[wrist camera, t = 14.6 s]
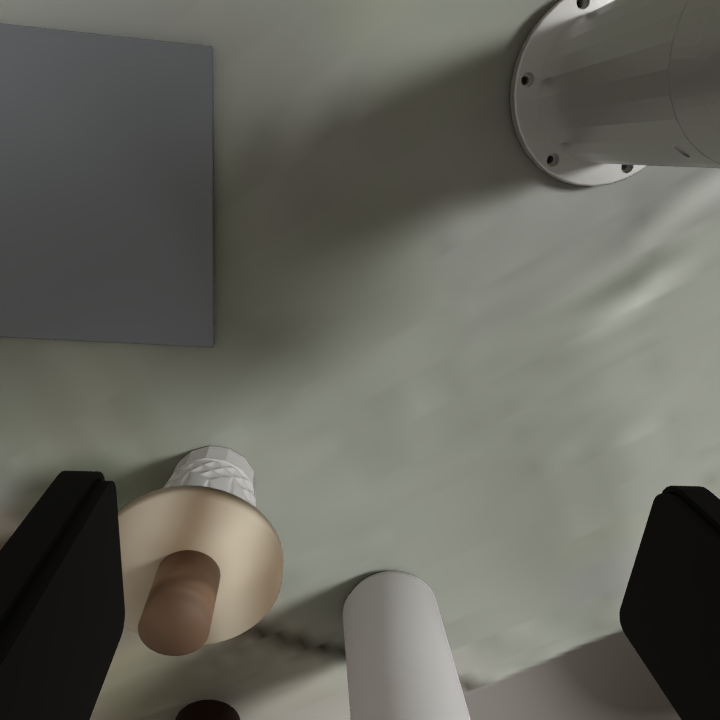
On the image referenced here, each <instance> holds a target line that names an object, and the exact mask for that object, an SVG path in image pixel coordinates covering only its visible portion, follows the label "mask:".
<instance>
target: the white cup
mask: <svg viewBox="0 0 720 720" xmlns="http://www.w3.org/2000/svg"><path fill="white" fill-rule="evenodd" d="M182 485H195V486H205V487H211V488H216V489H219V490H223V491H226V492H228V493H231V494H233V495H236V496H238V497H240V498H242V499H243V500H245V501H247V502H248V503H250V504H251V505H253V506H254V507H255V504H256V500H255V488H256V487H255V477H254V471H253V469H252V468H251V466H250V465H249V464H248V462H247V461H246V459H245V458H244V457H243V456H241V455H239V454H238V453H236V452H234V451H232V450H231V449H229V448H222V447H215V446H208V447H204V448H200V449H196V450H193V451H191V452H190V453H189V454H187V455H186V456H185V457H184V458H183V459H181V460H180V461H179V462H178V464H177V466H176V468H175V470H174V472H173V474H172V476H171V477H170V479H169V480H168V481H167V483H166V484H165V486H164V488H166V487H172V486H182Z"/></svg>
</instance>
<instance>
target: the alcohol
mask: <svg viewBox="0 0 720 720" xmlns="http://www.w3.org/2000/svg"><path fill="white" fill-rule="evenodd" d="M343 627H344V640H345V652H346V665H347V678H348V690H349V703H350V716H351V720H471V719H470V716H469V713H468V709H467V705H466V702H465V699H464V695H463V692H462V688H461V685H460V681H459V678H458V674H457V671H456V668H455V664H454V661H453V657H452V654H451V650H450V647H449V643H448V640H447V636H446V633H445V630H444V626H443V623H442V619H441V616H440V612H439V609H438V605H437V602H436V599H435V596H434V594H433V592H432V590H431V589H430V588H429V586H428V585H427V584H425V583H424V582H423V581H422V580H420V579H418V578H416V577H415V576H413V575H411V574H408V573H405V572H401V571H384V572H380V573H376V574H374V575H371V576H369V577H367V578H366V579H364V580H362V581H361V582H360V583H359V584H358V585H357V586H356V587H355V588H354V589H353V591H352V592H351V593H350V594H349V596H348V598H347V599H346V601H345V604H344V608H343Z"/></svg>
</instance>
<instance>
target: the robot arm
mask: <svg viewBox="0 0 720 720" xmlns="http://www.w3.org/2000/svg"><path fill="white" fill-rule="evenodd" d="M577 1H579V2H580V7H579V8H578V6H577ZM522 77H524V78H525V79H526V84H525V85H523V84H522V82H521V79H522ZM510 107H511V114H512V121H513V125H514V128H515V131H516V134H517V137H518V140H519V142H520V144H521V145H522V147H523V149H524V151H525V152H526V154H527V155H528V157H529V158H530V159H531V160H532V161H533V162H534V163H535V165H536V166H537V167H538V168H540V169H541V170H543V171H544V172H545V173H547V174H548V175H549V176H551V177H553V178H556V179H558V180H560V181H562V182H565V183H570V184H575V185H580V186H601V185H609V184H612V183H616V182H619V181H622V180H625V179H627V178H629V177H631V176H633V175H634V174H636V173H638V172H640V171H642V170H643V169H644V168H646V167H647V166H648V165H649V166H674V167H699V168H720V0H559V1H558V2H557V3H556V4H555V5H554V6H552V7H551V8H550V9H549V10H548V11H547V12H545V14H544V15H543V16H542V17H541V18H540V20H539V21H538V22H537V23H536V24H535V26H534V27H533V28H532V30H531V32H530V33H529V35H528V37H527V38H526V40H525V42H524V44H523V45H522V48H521V50H520V53H519V56H518V58H517V61H516V64H515V67H514V72H513V77H512V82H511V95H510ZM548 156H550V157H551V161H550V162H549V163H547V158H548ZM622 164H623V165H624V167H623V169H622V170H621V166H622ZM124 621H125V603H124V589H123V576H122V562H121V549H120V535H119V522H118V508H117V494H116V486H115V483H114V482H113V481H105V479H104V476H103V474H102V473H101V472H93V471H62V472H61V473H60V474H59V475H58V476H57V477H56V479H55V480H54V481H53V483H52V484H51V485H50V486H49V488H48V489H47V490H46V492H45V493H44V494H43V496H42V497H41V498H40V499H39V501H38V502H37V503H36V505H35V506H34V507H33V509H32V510H31V511H30V513H29V514H28V515H27V516H26V518H25V519H24V520H23V522H22V523H21V524H20V526H19V527H18V528H17V529H16V531H15V532H14V533H13V535H12V536H11V537H10V539H9V540H8V541H7V543H6V544H5V545H4V546H3V548H2V549H1V550H0V720H89V719H90V717H91V714H92V711H93V709H94V706H95V704H96V701H97V698H98V696H99V693H100V690H101V688H102V685H103V683H104V680H105V677H106V675H107V672H108V670H109V667H110V664H111V662H112V659H113V656H114V654H115V651H116V649H117V646H118V643H119V641H120V638H121V635H122V632H123V627H124ZM620 623H621V626H622V629H623V631H624V633H625V635H626V636H627V638H628V639H629V641H630V642H631V644H632V645H633V647H634V648H635V650H636V651H637V653H638V654H639V656H640V657H641V659H642V660H643V662H644V664H645V665H646V667H647V668H648V669H649V671H650V672H651V674H652V676H653V677H654V679H655V680H656V681H657V683H658V685H659V686H660V688H661V689H662V691H663V692H664V694H665V695H666V697H667V698H668V700H669V701H670V703H671V704H672V706H673V707H674V709H675V710H676V712H677V713H678V715H679V716H680V718H681V719H682V720H720V499H719V498H717V497H716V496H715V495H714V494H713V493H711V492H710V491H709V490H707V489H706V488H704V487H699V486H669V487H666V488H665V489H664V490H663V492H662V494H659V495H657V496H656V497H655V499H654V501H653V505H652V508H651V511H650V514H649V518H648V521H647V524H646V527H645V531H644V534H643V537H642V540H641V543H640V547H639V550H638V553H637V556H636V560H635V563H634V566H633V569H632V573H631V576H630V579H629V582H628V586H627V589H626V592H625V595H624V599H623V602H622V605H621V608H620Z"/></svg>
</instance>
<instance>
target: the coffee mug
mask: <svg viewBox="0 0 720 720" xmlns="http://www.w3.org/2000/svg"><path fill="white" fill-rule="evenodd" d="M176 720H240V718H239V715H238V713H237V712H236V711H235V709H234V708H232V707H231V706H230V705H228V704H226V703H223V702H220V701H215V700H202V701H197V702H194V703H191V704H189V705H187V706H186V707H184V708H183V709H182V710H181V711H180V712H179V713H178V715H177V717H176Z"/></svg>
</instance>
